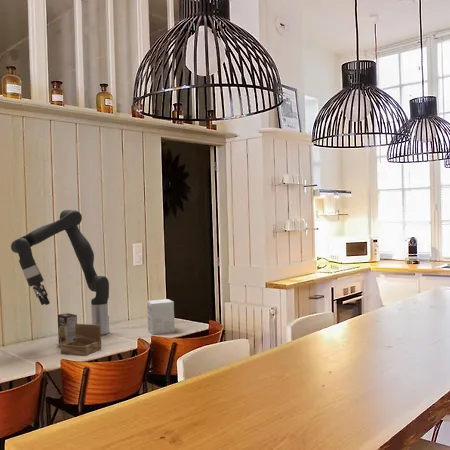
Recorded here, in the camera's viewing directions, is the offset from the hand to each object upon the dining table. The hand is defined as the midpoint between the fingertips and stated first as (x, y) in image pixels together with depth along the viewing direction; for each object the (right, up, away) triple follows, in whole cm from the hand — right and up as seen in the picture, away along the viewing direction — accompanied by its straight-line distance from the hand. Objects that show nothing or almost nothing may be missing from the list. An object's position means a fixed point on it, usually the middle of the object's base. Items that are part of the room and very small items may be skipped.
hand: (45, 304), depth 251 cm
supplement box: (+55, -21, +33) cm, 67 cm away
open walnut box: (+20, -22, -9) cm, 31 cm away
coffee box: (+10, -23, +5) cm, 25 cm away
